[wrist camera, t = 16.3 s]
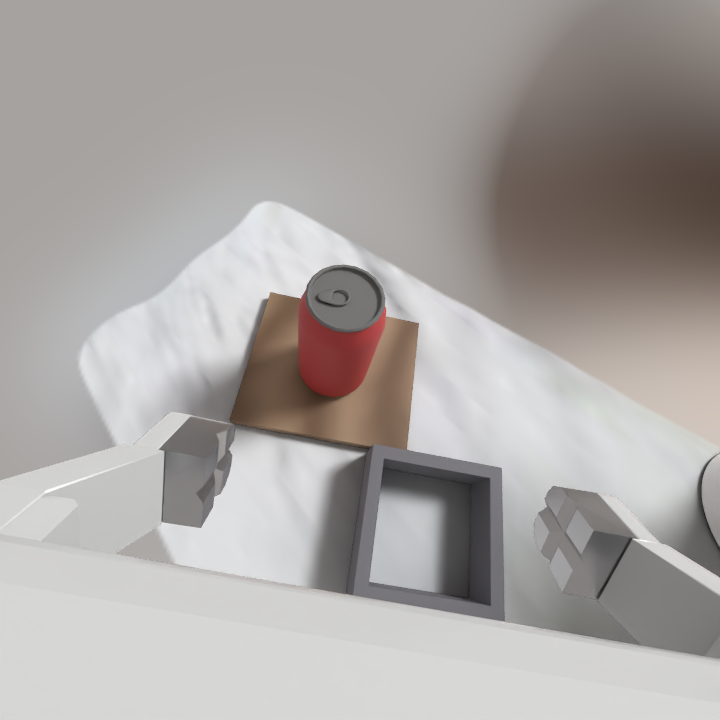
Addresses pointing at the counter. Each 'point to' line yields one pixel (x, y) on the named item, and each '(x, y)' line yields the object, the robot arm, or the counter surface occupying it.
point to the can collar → (483, 533)
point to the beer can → (339, 329)
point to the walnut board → (324, 413)
